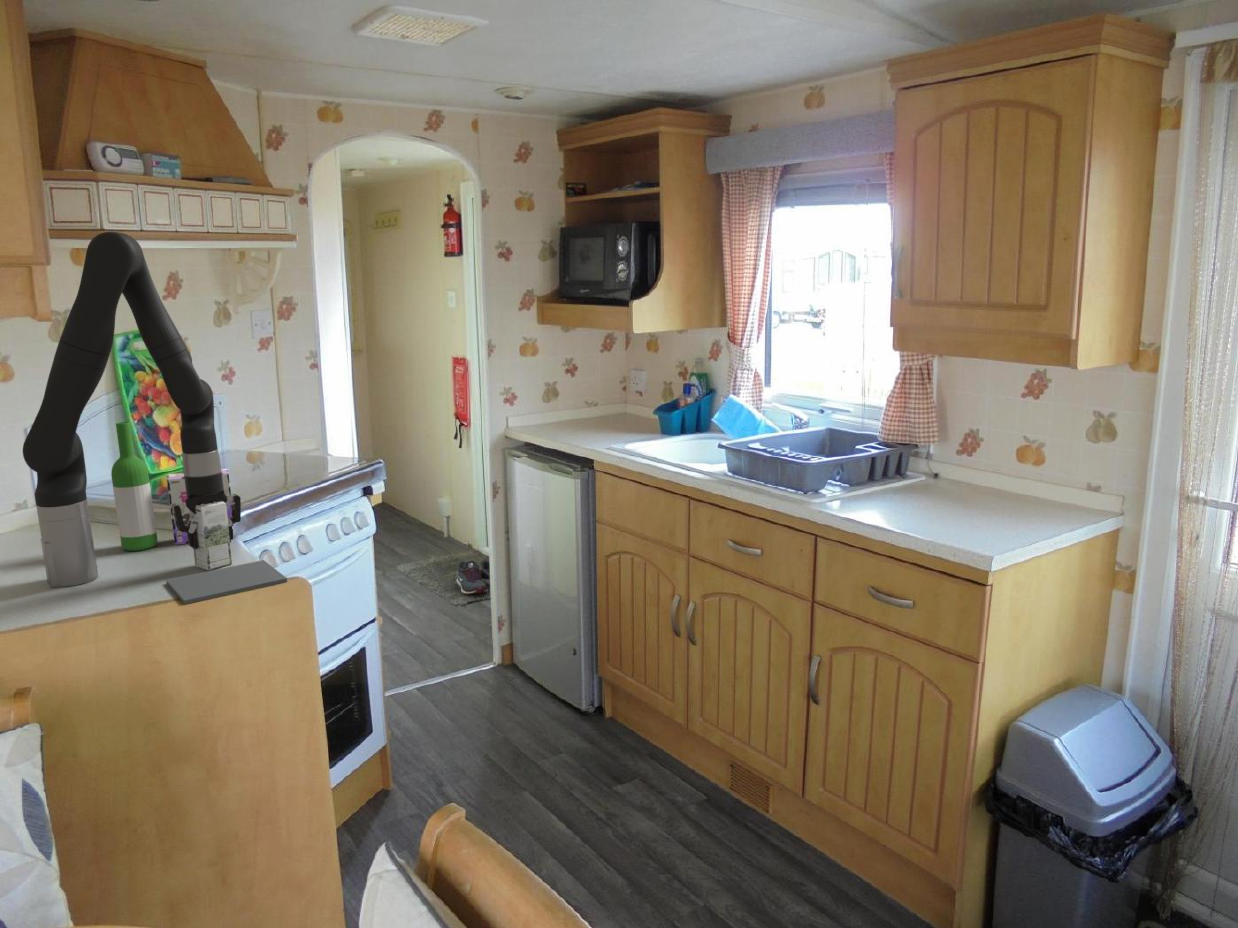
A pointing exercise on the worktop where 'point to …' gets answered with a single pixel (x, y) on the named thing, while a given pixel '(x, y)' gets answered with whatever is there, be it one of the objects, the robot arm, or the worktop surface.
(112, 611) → the worktop surface
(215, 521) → the syrup box
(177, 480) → the candy box
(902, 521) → the worktop surface
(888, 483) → the worktop surface
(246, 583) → the mat
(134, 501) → the wine bottle
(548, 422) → the worktop surface
